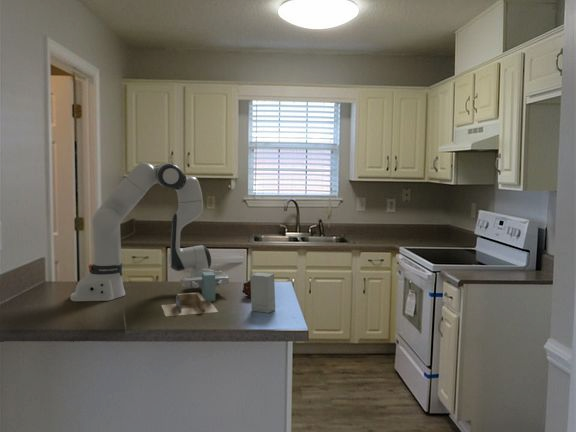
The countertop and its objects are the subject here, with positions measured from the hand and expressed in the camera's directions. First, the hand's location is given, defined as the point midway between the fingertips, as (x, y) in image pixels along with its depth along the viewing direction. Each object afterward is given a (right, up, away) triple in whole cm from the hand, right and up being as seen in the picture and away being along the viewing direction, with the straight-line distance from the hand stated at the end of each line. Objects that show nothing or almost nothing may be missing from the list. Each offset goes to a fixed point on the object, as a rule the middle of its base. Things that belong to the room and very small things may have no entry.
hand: (208, 285), depth 210 cm
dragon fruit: (+18, -7, +10) cm, 21 cm away
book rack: (-6, -8, -14) cm, 17 cm away
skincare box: (+23, -9, -11) cm, 28 cm away
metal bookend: (-9, -7, -15) cm, 19 cm away
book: (0, -7, +1) cm, 7 cm away
